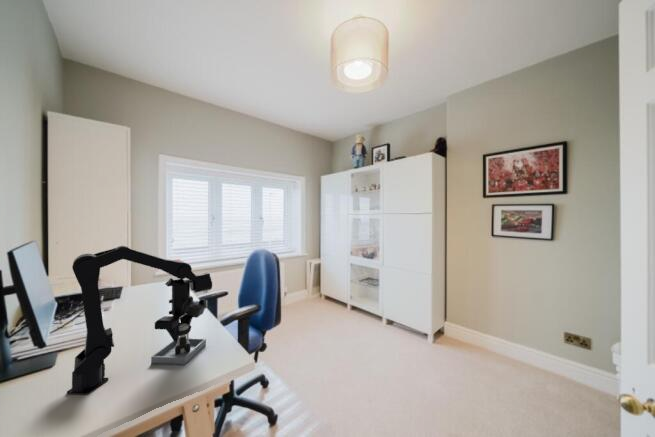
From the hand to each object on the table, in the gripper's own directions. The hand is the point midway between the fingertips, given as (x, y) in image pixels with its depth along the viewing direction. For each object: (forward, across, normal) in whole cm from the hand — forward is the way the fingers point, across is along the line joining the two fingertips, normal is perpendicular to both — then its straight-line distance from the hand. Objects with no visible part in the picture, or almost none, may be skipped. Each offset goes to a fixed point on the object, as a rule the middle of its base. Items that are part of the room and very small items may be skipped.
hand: (180, 337), depth 88 cm
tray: (+6, 0, 0) cm, 6 cm away
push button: (+6, 0, 0) cm, 6 cm away
